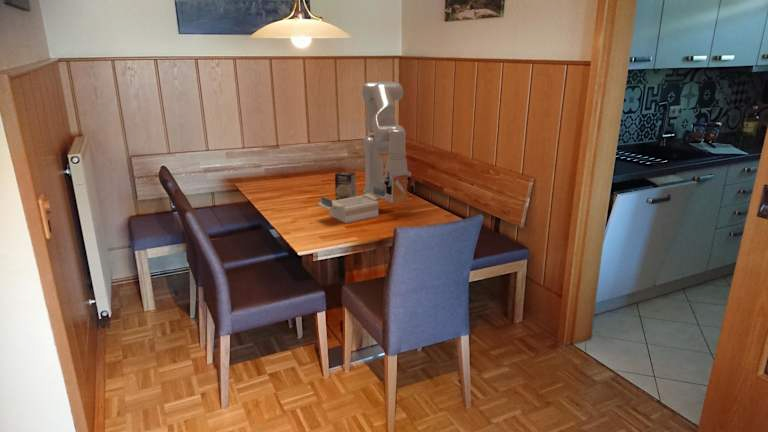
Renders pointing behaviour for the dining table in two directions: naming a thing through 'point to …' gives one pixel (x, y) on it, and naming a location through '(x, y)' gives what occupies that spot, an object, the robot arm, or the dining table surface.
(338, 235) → the dining table surface
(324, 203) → the lid panel
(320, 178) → the dining table surface
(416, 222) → the dining table surface
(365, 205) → the carton
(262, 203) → the dining table surface
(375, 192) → the lid panel
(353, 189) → the coffee box
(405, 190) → the small box
